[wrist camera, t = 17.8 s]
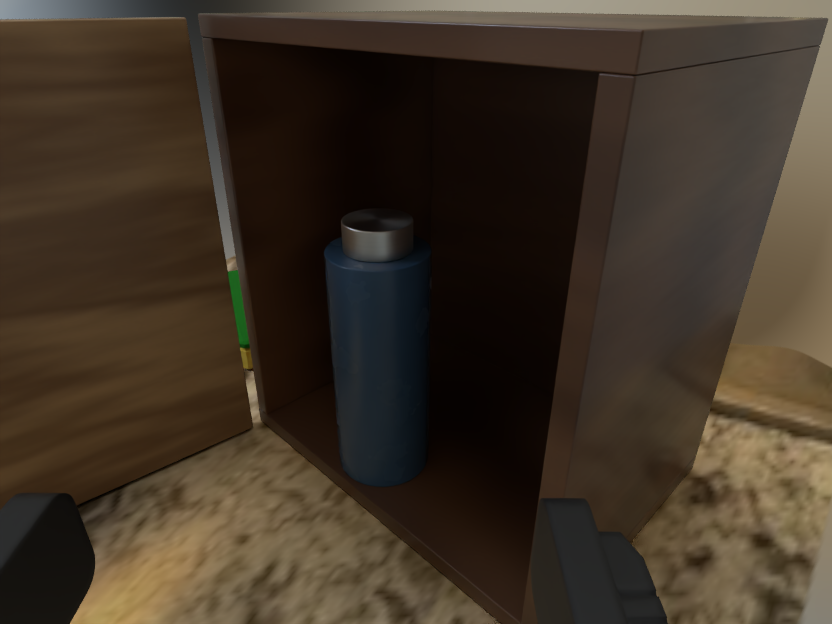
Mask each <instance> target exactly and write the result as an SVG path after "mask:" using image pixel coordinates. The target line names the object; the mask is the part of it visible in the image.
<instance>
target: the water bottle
mask: <svg viewBox="0 0 832 624" xmlns="http://www.w3.org/2000/svg"><path fill="white" fill-rule="evenodd" d="M341 232H342V237H340V238H337V239H335V240H333V241H332V242H330V243H329V244H328V245H327V246H326V248H325V250H324V262H325V275H326V288H327V301H328V314H329V327H330V340H331V353H332V366H333V378H334V391H335V404H336V417H337V430H338V443H339V456H340V463H341V466H342V468H343V470H344V471H345V472H346V474H347V475H349V476H350V477H351V478H352V479H354V480H355V481H357V482H359V483H362V484H365V485H369V486H375V487H389V486H395V485H400V484H402V483H405V482H407V481H410V480H411V479H413V478H415V477H416V476H417V475H418V474H419V473H420V472H421V471H422V470H423V469H424V467H425V465H426V463H427V460H428V448H429V390H430V333H431V276H432V249H431V246H430V245H429V244H428V242H426V241H425V240H423V239H422V238H420V237H417V236H414V235H413V218H412V216H411V215H409V214H408V213H405V212H403V211H399V210H394V209H386V208H372V209H363V210H358V211H354V212H351V213H349V214H347V215H345V216H344V217H343V218H342V219H341Z"/></svg>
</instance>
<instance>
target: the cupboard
mask: <svg viewBox="0 0 832 624" xmlns="http://www.w3.org/2000/svg"><path fill="white" fill-rule="evenodd" d="M198 18H199V24H200V31H201V36H202V37H203V38H202V41H203V47H204V55H205V60H206V67H207V74H208V80H209V87H210V93H211V99H212V106H213V113H214V119H215V125H216V132H217V138H218V145H219V151H220V157H221V164H222V170H223V177H224V183H225V190H226V196H227V203H228V209H229V215H230V222H231V229H232V235H233V242H234V248H235V254H236V261H237V267H238V274H239V280H240V287H241V293H242V300H243V306H244V313H245V319H246V325H247V332H248V338H249V345H250V351H251V358H252V364H253V371H254V377H255V383H256V390H257V396H258V403H259V411H260V417H261V420H262V421H263V422H264V423H265V424H266V425H267V426H269V427H270V428H271V429H272V430H273V431H275V432H276V433H277V434H278V435H279V436H280V437H282V438H283V439H284V440H285V441H286V442H288V443H289V444H290V445H291V446H292V447H293V448H295V449H296V450H297V451H298V452H299V453H301V454H302V455H303V456H304V457H305V458H306V459H308V460H309V461H310V462H311V463H312V464H314V465H315V466H316V467H317V468H318V469H319V470H321V471H322V472H323V473H324V474H325V475H327V476H328V477H329V478H330V479H331V480H332V481H334V482H335V483H336V484H337V485H338V486H340V487H341V488H342V489H343V490H344V491H345V492H347V493H348V494H349V495H350V496H351V497H353V498H354V499H355V500H356V501H357V502H358V503H360V504H361V505H362V506H363V507H364V508H366V509H367V510H368V511H369V512H370V513H372V514H373V515H374V516H375V517H376V518H377V519H379V520H380V521H381V522H382V523H383V524H385V525H386V526H387V527H388V528H389V529H390V530H392V531H393V532H394V533H395V534H396V535H398V536H399V537H400V538H401V539H402V540H403V541H405V542H406V543H407V544H408V545H409V546H411V547H412V548H413V549H414V550H415V551H416V552H418V553H419V554H420V555H421V556H422V557H424V558H425V559H426V560H427V561H428V562H429V563H431V564H432V565H433V566H434V567H435V568H437V569H438V570H439V571H440V572H441V573H442V574H444V575H445V576H446V577H447V578H448V579H450V580H451V581H452V582H453V583H454V584H455V585H457V586H458V587H459V588H460V589H461V590H463V591H464V592H465V593H466V594H467V595H469V596H470V597H471V598H472V599H473V600H474V601H476V602H477V603H478V604H479V605H480V606H482V607H483V608H484V609H485V610H486V611H487V612H489V613H490V614H491V615H492V616H493V617H495V618H496V619H497V620H498V621H499V622H500V623H502V624H538V621H537V615H536V610H535V605H534V599H533V593H532V585H531V554H532V547H533V540H534V533H535V526H536V519H537V512H538V505H539V501H540V499H541V498H585V499H586V500H587V502H588V503H589V506H590V508H591V511H592V514H593V517H594V520H595V523H596V526H597V529H598V532H621V533H622V534H623V536H624V537H625V538H626V539H627V540H628V541H629V543H630V542H631V541H632V540H633V538H634V537H635V536H636V535H637V534H638V532H639V531H640V530H641V529H642V528H643V526H644V525H645V524H646V523H647V522H648V520H649V519H650V518H651V517H652V515H653V514H654V513H655V512H656V511H657V509H658V508H659V507H660V506H661V505H662V503H663V502H664V501H665V500H666V499H667V497H668V496H669V495H670V494H671V493H672V491H673V490H674V489H675V488H676V487H677V485H678V484H679V483H680V482H681V481H682V479H683V478H684V477H685V476H686V475H687V473H688V472H689V471H690V470H691V469H692V467H693V464H694V461H695V457H696V454H697V451H698V447H699V444H700V441H701V437H702V434H703V431H704V427H705V424H706V421H707V418H708V414H709V411H710V408H711V404H712V401H713V398H714V394H715V391H716V388H717V385H718V381H719V378H720V375H721V371H722V368H723V365H724V361H725V358H726V355H727V352H728V348H729V345H730V342H731V338H732V335H733V332H734V328H735V325H736V322H737V318H738V315H739V312H740V308H741V305H742V302H743V299H744V295H745V292H746V289H747V285H748V282H749V279H750V276H751V272H752V269H753V266H754V262H755V259H756V256H757V253H758V249H759V246H760V243H761V239H762V236H763V233H764V229H765V226H766V222H767V219H768V216H769V213H770V209H771V206H772V203H773V200H774V196H775V193H776V190H777V187H778V183H779V180H780V177H781V173H782V170H783V167H784V163H785V160H786V157H787V154H788V150H789V147H790V144H791V140H792V137H793V134H794V130H795V127H796V124H797V120H798V117H799V114H800V111H801V107H802V104H803V101H804V97H805V94H806V90H807V87H808V84H809V81H810V78H811V74H812V71H813V67H814V64H815V61H816V58H817V54H818V51H819V48H820V46H819V45H820V44H821V41H822V38H823V35H824V32H825V28H826V25H827V22H828V19H827V18H796V17H744V16H743V17H742V16H691V15H636V14H635V15H634V14H633V15H631V14H584V13H581V14H580V13H530V12H476V11H376V12H375V11H368V12H367V11H365V12H285V13H283V12H282V13H201V14H198ZM372 208H386V209H394V210H399V211H403V212H405V213H408V214H409V215H411V216H412V218H413V235H414V236H417V237H420V238H422V239H423V240H425V241H426V242H428V244H429V245H430V246H431V249H432V276H431V333H430V390H429V448H428V460H427V463H426V465H425V467H424V469H423V470H422V471H421V472H420V473H419V474H418V475H417V476H416V477H415V478H413V479H411V480H410V481H407V482H405V483H402V484H400V485H395V486H389V487H375V486H369V485H365V484H362V483H359V482H357V481H355V480H354V479H352V478H351V477H350V476H349V475H347V474H346V472H345V471H344V470H343V468H342V466H341V463H340V456H339V443H338V430H337V417H336V404H335V391H334V378H333V366H332V353H331V340H330V327H329V314H328V301H327V288H326V275H325V262H324V250H325V248H326V246H327V245H328V244H329V243H330V242H332V241H333V240H335V239H337V238H340V237H342V232H341V219H342V218H343V217H344V216H345V215H347V214H349V213H351V212H354V211H358V210H363V209H372Z"/></svg>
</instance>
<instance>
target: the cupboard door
mask: <svg viewBox="0 0 832 624" xmlns="http://www.w3.org/2000/svg"><path fill="white" fill-rule="evenodd" d="M252 427H253V423H252V417H251V411H250V405H249V399H248V393H247V387H246V380H245V374H244V368H243V362H242V356H241V350H240V344H239V338H238V332H237V326H236V320H235V314H234V308H233V301H232V295H231V289H230V283H229V277H228V271H227V265H226V259H225V254H224V247H223V241H222V235H221V229H220V222H219V216H218V210H217V204H216V198H215V192H214V186H213V180H212V175H211V168H210V162H209V156H208V149H207V143H206V137H205V131H204V125H203V119H202V113H201V107H200V101H199V95H198V89H197V83H196V77H195V71H194V64H193V58H192V53H191V46H190V40H189V34H188V28H187V22H186V18H183V17H153V18H152V17H151V18H79V19H5V20H0V510H1V509H2V508H3V506H4V505H5V504H6V503H7V502H8V501H9V500H10V499H11V498H12V497H13V496H15V495H16V494H19V493H67V494H69V495H71V496H72V497H73V499H74V501H75V503H76V506H77V505H79V504H81V503H83V502H86V501H88V500H90V499H92V498H95V497H97V496H99V495H101V494H104V493H106V492H108V491H110V490H113V489H115V488H117V487H119V486H122V485H124V484H126V483H128V482H131V481H133V480H135V479H137V478H140V477H142V476H144V475H146V474H149V473H151V472H153V471H155V470H158V469H160V468H162V467H164V466H167V465H169V464H171V463H173V462H176V461H178V460H180V459H182V458H185V457H187V456H189V455H191V454H194V453H196V452H198V451H200V450H203V449H205V448H207V447H209V446H212V445H214V444H216V443H218V442H221V441H223V440H225V439H227V438H230V437H232V436H234V435H236V434H238V433H241V432H243V431H245V430H247V429H250V428H252Z"/></svg>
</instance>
